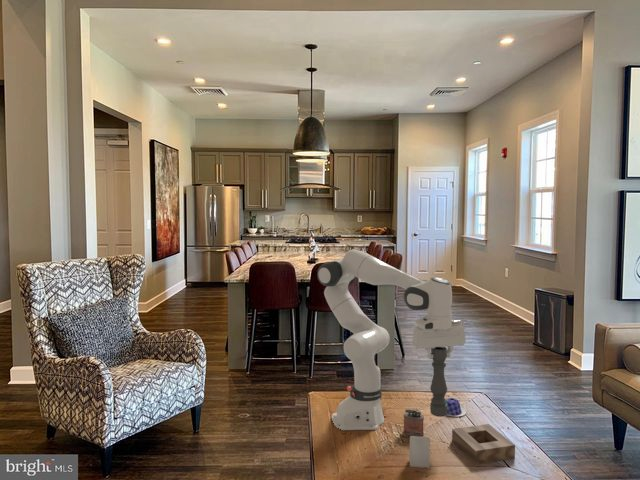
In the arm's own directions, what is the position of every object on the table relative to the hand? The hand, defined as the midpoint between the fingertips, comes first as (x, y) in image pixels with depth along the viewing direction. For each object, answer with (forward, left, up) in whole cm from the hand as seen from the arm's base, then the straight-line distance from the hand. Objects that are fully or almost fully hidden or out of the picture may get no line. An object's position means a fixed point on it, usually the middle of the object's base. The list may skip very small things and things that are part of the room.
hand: (438, 357), depth 166 cm
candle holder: (0, 0, -22) cm, 22 cm away
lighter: (-5, +11, -35) cm, 37 cm away
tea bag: (-12, -9, -35) cm, 38 cm away
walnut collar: (+15, -6, -35) cm, 38 cm away
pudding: (+20, +25, -35) cm, 48 cm away
